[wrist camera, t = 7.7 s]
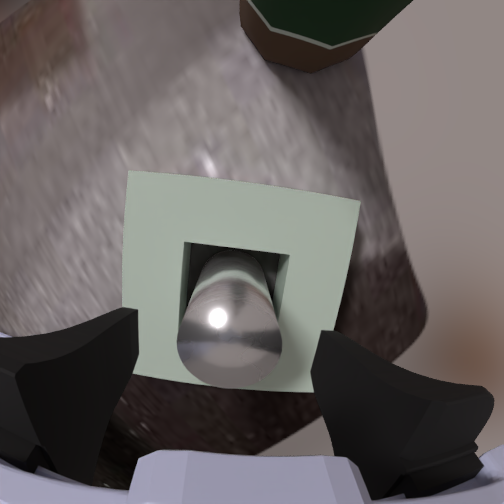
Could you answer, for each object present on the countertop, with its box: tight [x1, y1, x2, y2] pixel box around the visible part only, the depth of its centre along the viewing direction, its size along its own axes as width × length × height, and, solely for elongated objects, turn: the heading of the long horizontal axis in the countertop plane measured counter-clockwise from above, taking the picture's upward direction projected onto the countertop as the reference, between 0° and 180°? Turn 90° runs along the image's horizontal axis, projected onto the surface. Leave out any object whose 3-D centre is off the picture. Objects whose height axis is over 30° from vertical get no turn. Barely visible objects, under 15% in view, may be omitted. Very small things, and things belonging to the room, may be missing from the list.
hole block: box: [122, 171, 361, 392], centre depth 17 cm, size 12×12×3 cm
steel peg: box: [177, 250, 282, 389], centre depth 15 cm, size 4×4×8 cm
